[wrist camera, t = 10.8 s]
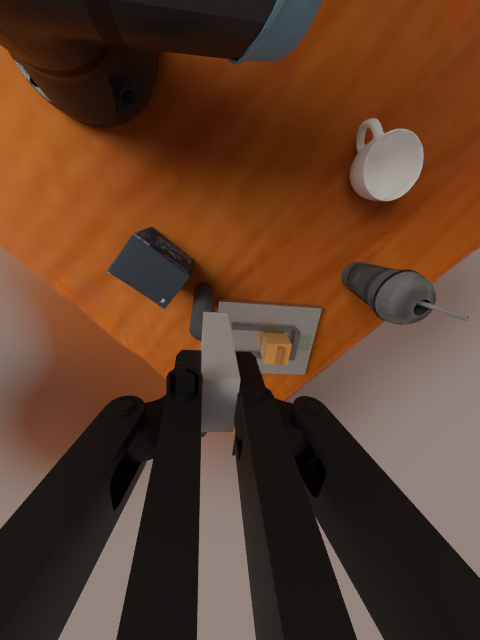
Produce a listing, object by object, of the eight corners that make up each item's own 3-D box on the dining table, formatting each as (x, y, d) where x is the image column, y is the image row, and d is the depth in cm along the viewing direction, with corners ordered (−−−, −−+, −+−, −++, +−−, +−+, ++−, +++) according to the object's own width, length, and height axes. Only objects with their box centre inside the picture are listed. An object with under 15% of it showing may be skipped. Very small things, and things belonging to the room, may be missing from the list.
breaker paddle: (260, 351, 46) (265, 366, 42) (263, 332, 44) (269, 345, 40) (281, 352, 47) (288, 367, 42) (285, 333, 45) (293, 346, 41)
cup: (348, 211, 40) (374, 213, 33) (324, 145, 35) (348, 133, 29) (394, 182, 39) (430, 178, 32) (374, 111, 34) (411, 91, 28)
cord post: (194, 299, 42) (189, 340, 30) (195, 282, 41) (190, 316, 29) (212, 300, 43) (214, 341, 30) (213, 283, 42) (216, 318, 29)
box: (195, 259, 40) (191, 276, 30) (174, 286, 41) (164, 311, 32) (151, 224, 37) (131, 232, 27) (130, 255, 38) (105, 272, 29)
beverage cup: (327, 267, 43) (416, 313, 25) (367, 245, 42) (489, 276, 24) (341, 302, 46) (428, 365, 28) (378, 282, 45) (493, 334, 27)
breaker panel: (212, 367, 48) (213, 377, 46) (218, 298, 43) (219, 305, 40) (302, 370, 51) (307, 379, 48) (318, 305, 46) (325, 311, 43)
